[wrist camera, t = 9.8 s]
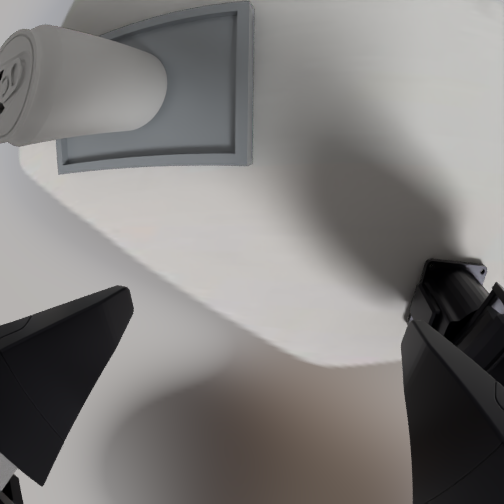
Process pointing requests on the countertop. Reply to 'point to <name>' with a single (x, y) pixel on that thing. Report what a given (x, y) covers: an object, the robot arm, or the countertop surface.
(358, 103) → the countertop surface
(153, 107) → the beverage can
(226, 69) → the tray
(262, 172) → the countertop surface
